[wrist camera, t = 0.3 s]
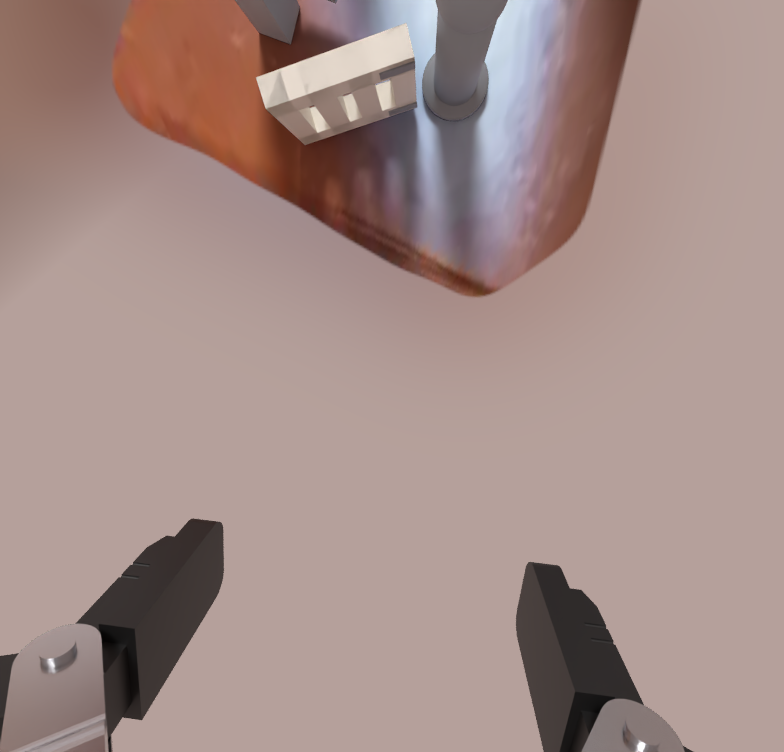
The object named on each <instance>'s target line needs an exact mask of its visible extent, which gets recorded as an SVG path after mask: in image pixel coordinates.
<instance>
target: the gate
mask: <svg viewBox="0 0 784 752" xmlns="http://www.w3.org/2000/svg"><path fill="white" fill-rule="evenodd" d="M256 79H257V82H258V86H259V89H260V92H261V95H262V98H263V102H264V105H265V108H266V110H268V111H269V112H270V113H271V114H272V115H273V116H274V117H275V118H276V119H277V120H278V121H279V122H280V123H282V124H283V125H284V126H285V127H286V128H287V129H288V130H289V131H290V132H291V133H292V134H293V135H295V136H296V137H297V138H298V139H299V140H300V141H301V142H302V143H303V144H304V145H307V144H310V143H313V142H316V141H319V140H322V139H325V138H328V137H331V136H334V135H337V134H340V133H343V132H346V131H349V130H352V129H355V128H358V127H361V126H364V125H367V124H370V123H373V122H376V121H379V120H382V119H385V118H388V117H391V116H394V115H396V114H399V113H402V112H405V111H408V110H411V109H414V108H417V102H416V81H415V60H414V53H413V49H412V45H411V41H410V36H409V32H408V28H407V24H406V23H405V24H402V25H400V26H397V27H394V28H391V29H388V30H386V31H383V32H380V33H377V34H375V35H372V36H369V37H366V38H364V39H361V40H358V41H355V42H353V43H350V44H347V45H344V46H342V47H339V48H336V49H333V50H330V51H328V52H325V53H322V54H319V55H317V56H314V57H311V58H308V59H306V60H303V61H300V62H297V63H295V64H292V65H289V66H286V67H284V68H281V69H278V70H275V71H272V72H270V73H267V74H264V75H261V76H259V77H256ZM388 79H390V81H387V82H384V83H381V84H378V85H375V84H376V83H379V82H382V81H385V80H388ZM350 92H351V93H352V94H349V95H346V96H344V97H343V95H345V94H348V93H350ZM313 105H314V106H315V107H312V108H310V106H313Z"/></svg>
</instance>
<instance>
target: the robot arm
mask: <svg viewBox="0 0 784 752" xmlns="http://www.w3.org/2000/svg"><path fill="white" fill-rule="evenodd" d="M223 571H224V556H223V525H222V523H221V522H216V521H208V520H200V519H191V520H189V521H188V522H187V523H186V525H185V526H184V527H183V528H182V529H181V530H180V531H179V533H178V534H177V535H176V536H175V537H172V536H165V537H164V538H162V539H160V540H159V541H157V542H156V543H154V544H152V545H150V546H149V547H147V548H146V549H145V550H144V551H143V552H142V553H141V554H140V556H139V557H138V558H137V559H136V560H135V561H134V562H133V565H130V566H129V567H128V568H127V569H126V570H125V571H124V573H123V574H122V576H121V578H118V579H117V580H116V581H115V582H114V583H113V584H112V585H111V586H110V587H109V589H108V590H107V591H106V592H105V593H104V594H103V595H102V596H101V597H100V598H99V599H98V600H97V601H96V602H95V603H94V604H93V606H92V607H91V608H90V609H89V610H88V611H87V612H86V613H85V614H84V615H83V616H82V617H81V619H79V621H78V622H77V623H76V624H70V625H65V626H61V627H58V628H55V629H53V630H50V631H48V632H46V633H44V634H42V635H40V636H39V637H37V638H36V639H34V640H33V641H31V642H30V643H29V644H28V645H26V646H25V647H24V648H23V649H22V650H21V652H20V653H18V654H11V655H4V656H0V752H113V748H112V737H111V734H112V733H113V731H114V729H115V728H116V726H117V725H118V723H119V722H120V720H121V719H122V717H124V718H131V719H138V720H142V719H143V717H144V716H145V714H146V712H147V711H148V709H149V708H150V706H151V704H152V702H153V701H154V699H155V698H156V696H157V694H158V693H159V691H160V689H161V688H162V686H163V685H164V683H165V681H166V680H167V678H168V676H169V674H170V673H171V671H172V670H173V668H174V666H175V665H176V663H177V661H178V660H179V658H180V656H181V655H182V653H183V651H184V650H185V648H186V646H187V645H188V643H189V642H190V640H191V638H192V637H193V635H194V633H195V632H196V630H197V628H198V627H199V625H200V623H201V622H202V620H203V618H204V617H205V615H206V613H207V611H208V610H209V608H210V607H211V605H212V604H213V602H214V600H215V598H216V597H217V595H218V593H219V590H220V587H221V584H222V579H223V573H224V572H223ZM516 631H517V637H518V642H519V647H520V651H521V655H522V660H523V664H524V668H525V673H526V677H527V681H528V686H529V690H530V694H531V698H532V703H533V707H534V711H535V716H536V720H537V724H538V728H539V732H540V737H541V741H542V746H543V750H544V752H693V751H691V750H689V749H687V748H686V747H684V746H683V745H682V743H681V741H680V739H679V738H678V736H677V734H676V733H675V732H674V730H673V729H672V728H671V727H670V725H669V724H668V723H667V722H666V721H665V720H664V719H663V718H662V717H660V716H659V715H658V714H657V713H655V712H654V711H652V710H651V709H649V708H648V707H646V706H644V704H643V702H642V700H641V698H640V696H639V694H638V692H637V690H636V688H635V685H634V683H633V681H632V679H631V677H630V675H629V673H628V671H627V669H626V666H625V665H624V662H623V660H622V658H621V656H620V654H619V652H618V650H617V648H616V645H614V644H613V639H612V637H611V635H610V633H609V631H608V629H606V625H605V623H604V620H603V618H602V616H601V614H600V612H599V610H598V608H597V606H596V605H595V604H594V603H593V602H592V601H591V600H590V599H589V598H588V597H587V596H586V595H585V594H584V593H583V591H582V590H577V589H570V588H569V586H568V584H567V581H566V579H565V576H564V574H563V572H562V569H561V568H560V567H559V566H557V565H549V564H542V563H534V562H529V563H528V564H527V566H526V569H525V574H524V579H523V584H522V589H521V594H520V599H519V604H518V608H517V615H516Z"/></svg>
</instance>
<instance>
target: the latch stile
mask: <svg viewBox="0 0 784 752" xmlns="http://www.w3.org/2000/svg"><path fill="white" fill-rule="evenodd" d="M235 1H236V3H237V4H238V5H239V7H240V8H241V9H242V11H243V12H244V13H245V15H246V16H247V17H248V19H249V20H250V21H251V23H252V24H253V26H254V27H255V28H256V30H257V31H258V32H259V33H261V34H264V35H266V36H269V37H272V38H275V39H277V40H280V41H283V42H285V43H288V44H291V41H292V37H293V33H294V29H295V25H296V21H297V17H298V13H299V9H300V6H299V4H298V2H297V0H235ZM328 1H331V2H333V3H336V2H337V0H328Z"/></svg>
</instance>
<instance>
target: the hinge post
mask: <svg viewBox="0 0 784 752" xmlns="http://www.w3.org/2000/svg"><path fill="white" fill-rule="evenodd" d="M507 1H508V0H436V4H437V7H438V18H437V35H436V53H435V54H434V55H433V56H432V57H431V59H430V60H429V62H428V63H427V65H426V68H425V70H424V74H423V80H422V89H423V96H424V99H425V102H426V104H427V106H428V107H429V109H430V110H431V111H432V112H433V113H434V114H435V115H436V116H438V117H439V118H442V119H444V120H448V121H458V120H462V119H465V118H467V117H469V116H470V115H472V114H473V113H474V112H475V111H476V110H477V109H478V108H479V107H480V105H481V104H482V102H483V100H484V97H485V95H486V92H487V89H488V80H489V78H488V70H487V67H486V64H485V62H484V60H485V57H486V54H487V51H488V47H489V44H490V41H491V38H492V34H493V31H494V28H495V25H496V22H497V19H498V17H499V16H500V15H501V13H502V11H503V10H504V8H505V6H506V3H507Z"/></svg>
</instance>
